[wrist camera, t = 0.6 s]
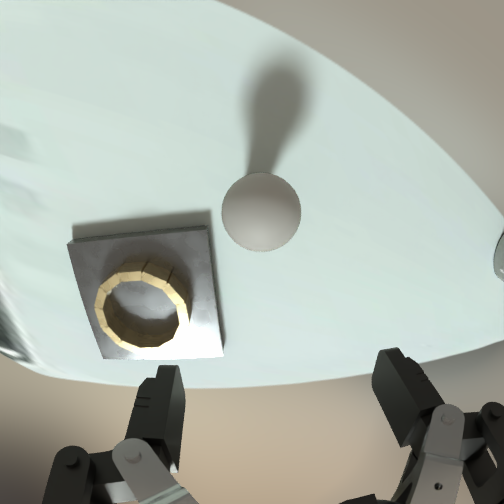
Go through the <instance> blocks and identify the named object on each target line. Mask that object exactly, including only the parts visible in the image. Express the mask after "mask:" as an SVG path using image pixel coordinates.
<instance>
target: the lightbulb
mask: <svg viewBox="0 0 504 504" xmlns="http://www.w3.org/2000/svg"><path fill="white" fill-rule="evenodd" d="M300 219H301V205H300V201H299V198H298V196H297V194H296V192H295V190H294V189H293V188H292V186H291V185H290V184H289V183H287V182H286V181H285V180H284V179H282V178H280V177H278V176H276V175H273V174H270V173H253V174H250V175H246V176H244V177H242V178H241V179H239V180H238V181H236V182H235V183H234V184H233V185H232V186H231V187H230V189H229V190H228V191H227V193H226V195H225V197H224V200H223V204H222V221H223V224H224V227H225V229H226V231H227V233H228V235H229V236H230V237H231V238H232V239H233V240H234V242H236V243H237V244H238V245H240V246H241V247H243V248H245V249H248V250H251V251H255V252H267V251H272V250H275V249H278V248H280V247H282V246H283V245H285V244H286V243H287V242H288V241H289V240H290V239H291V238H292V237H293V236H294V234H295V233H296V231H297V229H298V227H299V224H300Z"/></svg>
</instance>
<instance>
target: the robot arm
mask: <svg viewBox="0 0 504 504" xmlns="http://www.w3.org/2000/svg"><path fill="white" fill-rule="evenodd" d="M494 271H495V274H496V275H497V277H498V278H500V279H501V280H502V281H504V235H503V236H502V238H501V239H500V241H499V243H498V246H497V249H496V252H495V257H494ZM372 388H373V391H374V393H375V395H376V397H377V399H378V401H379V403H380V405H381V407H382V409H383V411H384V414H385V416H386V418H387V420H388V422H389V424H390V426H391V428H392V430H393V432H394V435H395V437H396V439H397V441H398V443H399V445H400V447H405V446H408V445H410V446H411V448H412V450H411V452H410V454H409V457H408V460H407V463H406V466H405V469H404V472H403V475H402V477H401V480H400V483H399V485H398V487H397V490H396V492H395V493H394V495H393V497H392V498H391V500H390V501H387V500H376V497H375V494H370V495H367V496H363V497H359V498H355V499H350V500H346V501H344V502H342V503H340V504H455V501H456V497H457V493H458V489H459V485H460V480H461V475H462V474H463V477H464V480H465V482H466V484H467V486H468V489H469V491H470V493H471V496H472V498H473V500H474V503H475V504H504V406H503V405H501V404H500V403H497V402H488V403H486V404H485V405H484V406H483V407H482V409H481V410H480V412H471V413H463V412H462V411H461V410H460V409H459V408H458V407H456V406H454V405H451V404H445V403H444V401H443V400H442V398H441V396H440V395H439V393H438V392H437V390H436V389H435V387H434V386H433V385H432V383H431V382H430V380H428V377H427V376H426V374H424V371H423V370H422V368H421V367H420V366H419V364H418V363H417V362H415V361H414V360H412V359H411V358H410V357H407V358H405V357H404V355H403V354H402V352H401V351H400V349H399V348H397V347H396V348H390V349H384V350H380V351H379V353H378V356H377V360H376V364H375V368H374V371H373V375H372ZM184 413H185V391H184V387H183V383H182V378H181V373H180V369H179V366H178V365H159V367H158V370H157V374H156V378H146V379H145V380H144V381H143V383H142V384H141V385H140V386H139V389H138V392H137V396H136V399H135V403H134V407H133V410H132V414H131V417H130V421H129V425H128V429H127V433H126V436H125V439H124V440H123V441H121V442H120V443H118V444H117V445H116V446H115V447H114V449H113V450H110V451H106V452H100V453H92V454H88V453H87V452H86V451H85V450H84V449H83V448H81V447H78V446H68V447H65V448H63V449H61V450H60V451H59V452H58V453H57V454H56V456H55V459H54V462H53V465H52V468H51V472H50V475H49V479H48V482H47V486H46V490H45V494H44V498H43V501H42V504H117V503H120V502H127V501H134V500H138V502H139V503H140V504H199V503H198V502H197V501H196V500H195V499H194V498H193V497H192V496H191V494H190V493H189V492H188V491H187V490H186V489H185V488H184V487H181V486H180V485H179V483H178V482H177V481H176V480H175V479H174V477H173V476H172V475H171V474H170V472H173V473H178V469H179V459H180V449H181V440H182V430H183V421H184ZM487 448H489V449H490V450H491V452H492V454H493V456H494V458H495V460H496V462H497V468H496V466H495V464H494V462H493V460H492V459H491V457H490V455H489V453H488V451H487Z"/></svg>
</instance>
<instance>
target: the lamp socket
mask: <svg viewBox="0 0 504 504" xmlns="http://www.w3.org/2000/svg"><path fill="white" fill-rule="evenodd" d="M67 247H68V251H69V255H70V259H71V263H72V267H73V270H74V274H75V278H76V281H77V284H78V288H79V291H80V294H81V298H82V301H83V304H84V307H85V310H86V313H87V316H88V319H89V322H90V325H91V327H92V330H93V333H94V336H95V338H96V341H97V344H98V346H99V349H100V351H101V354H102V356H103V359H182V358H204V357H221V356H223V343H222V336H221V329H220V322H219V315H218V308H217V300H216V292H215V285H214V277H213V269H212V261H211V252H210V244H209V235H208V226H197V227H186V228H175V229H165V230H155V231H145V232H136V233H126V234H117V235H108V236H99V237H91V238H82V239H74V240H71V241H70V242H69V243H68V244H67Z"/></svg>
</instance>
